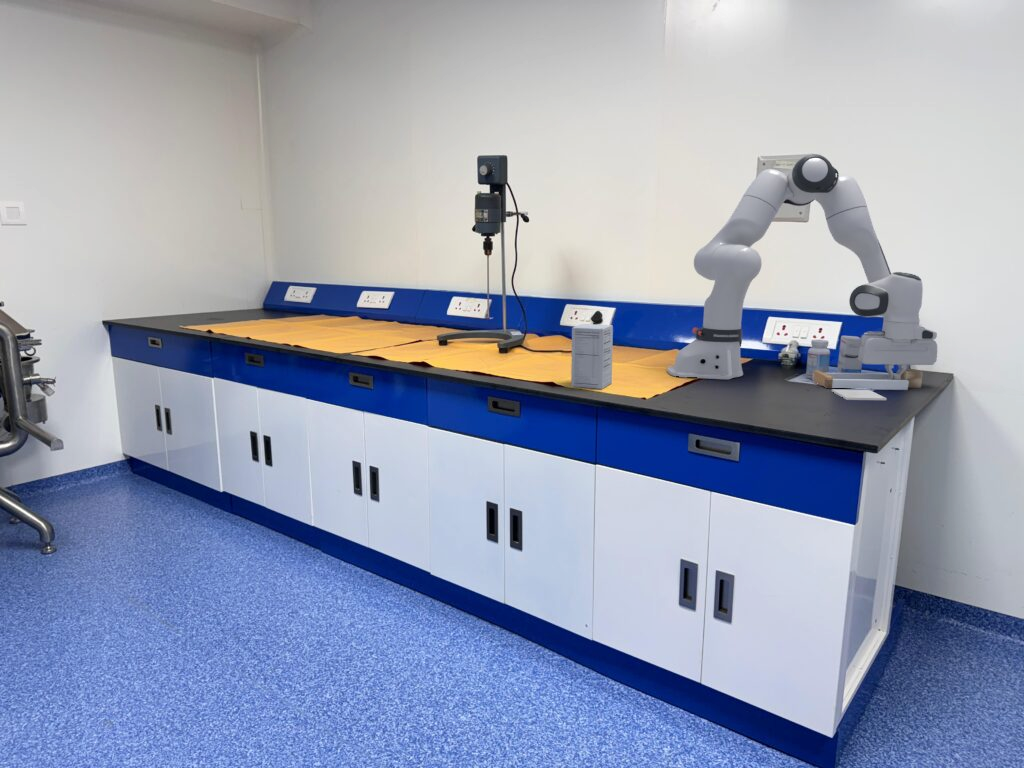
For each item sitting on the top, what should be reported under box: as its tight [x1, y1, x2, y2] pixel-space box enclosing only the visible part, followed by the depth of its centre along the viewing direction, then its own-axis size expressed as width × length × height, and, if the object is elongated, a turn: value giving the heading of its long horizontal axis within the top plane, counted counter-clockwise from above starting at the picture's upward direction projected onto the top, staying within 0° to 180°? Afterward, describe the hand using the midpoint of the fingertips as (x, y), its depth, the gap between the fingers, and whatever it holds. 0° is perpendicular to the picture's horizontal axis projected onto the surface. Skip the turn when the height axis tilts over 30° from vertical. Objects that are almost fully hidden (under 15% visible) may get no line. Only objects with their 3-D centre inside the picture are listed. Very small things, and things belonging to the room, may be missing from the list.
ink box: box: [836, 335, 863, 373], centre depth 211 cm, size 8×5×12 cm, turn 168°
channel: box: [811, 370, 909, 391], centre depth 199 cm, size 22×11×3 cm, turn 87°
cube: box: [901, 368, 924, 389], centre depth 198 cm, size 4×4×4 cm
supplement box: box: [570, 323, 614, 390], centre depth 196 cm, size 10×9×17 cm
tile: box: [831, 389, 887, 401], centre depth 186 cm, size 10×10×1 cm
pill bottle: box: [805, 339, 831, 379], centre depth 208 cm, size 6×6×11 cm
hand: (894, 379), depth 198 cm, fingers closed
